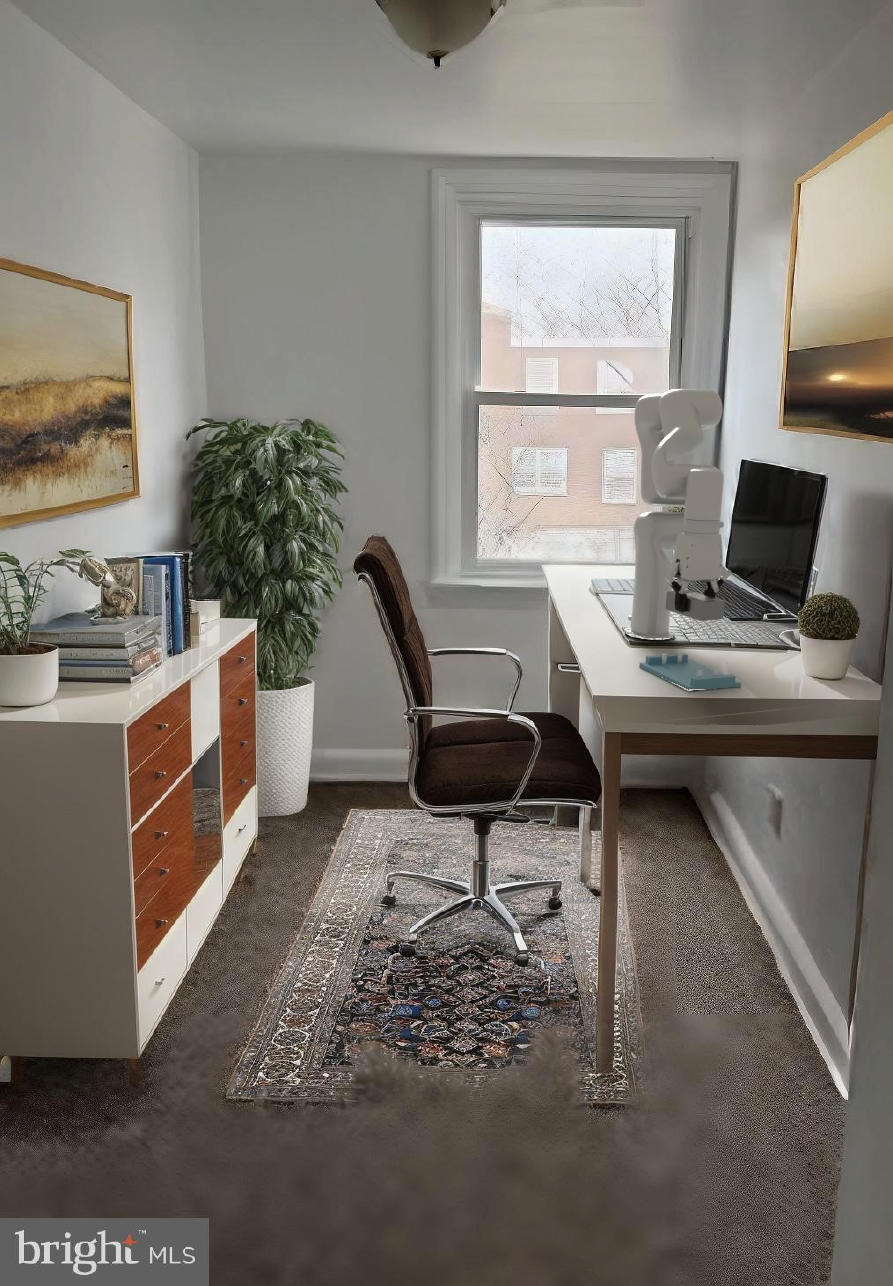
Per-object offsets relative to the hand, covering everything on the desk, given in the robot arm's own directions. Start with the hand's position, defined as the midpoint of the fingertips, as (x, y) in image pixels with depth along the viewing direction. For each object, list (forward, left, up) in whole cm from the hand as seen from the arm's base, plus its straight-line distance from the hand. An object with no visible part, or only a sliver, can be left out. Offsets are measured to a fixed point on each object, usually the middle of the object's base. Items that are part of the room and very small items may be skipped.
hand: (694, 609), depth 224 cm
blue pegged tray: (0, 0, -15) cm, 15 cm away
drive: (0, 0, -1) cm, 1 cm away
